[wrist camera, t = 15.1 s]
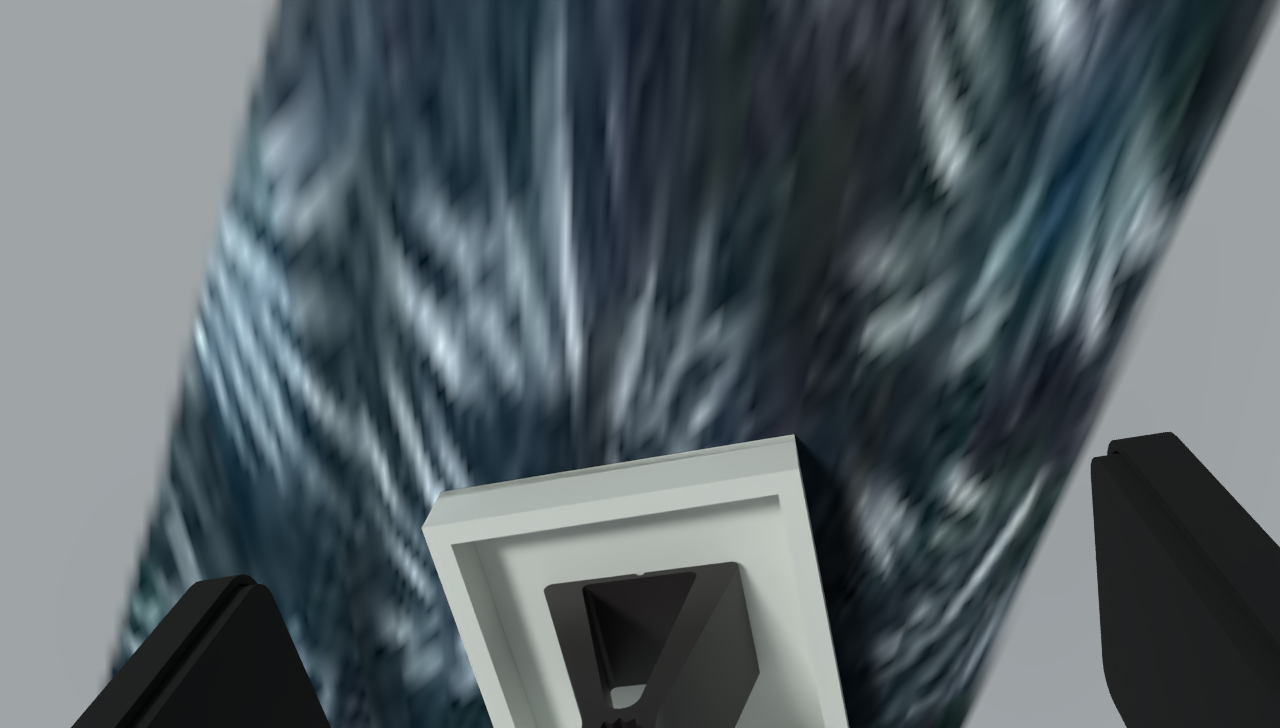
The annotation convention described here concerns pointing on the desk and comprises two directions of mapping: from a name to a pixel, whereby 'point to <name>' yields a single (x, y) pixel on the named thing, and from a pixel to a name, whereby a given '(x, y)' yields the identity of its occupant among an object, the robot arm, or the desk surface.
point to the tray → (638, 572)
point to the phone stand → (658, 646)
